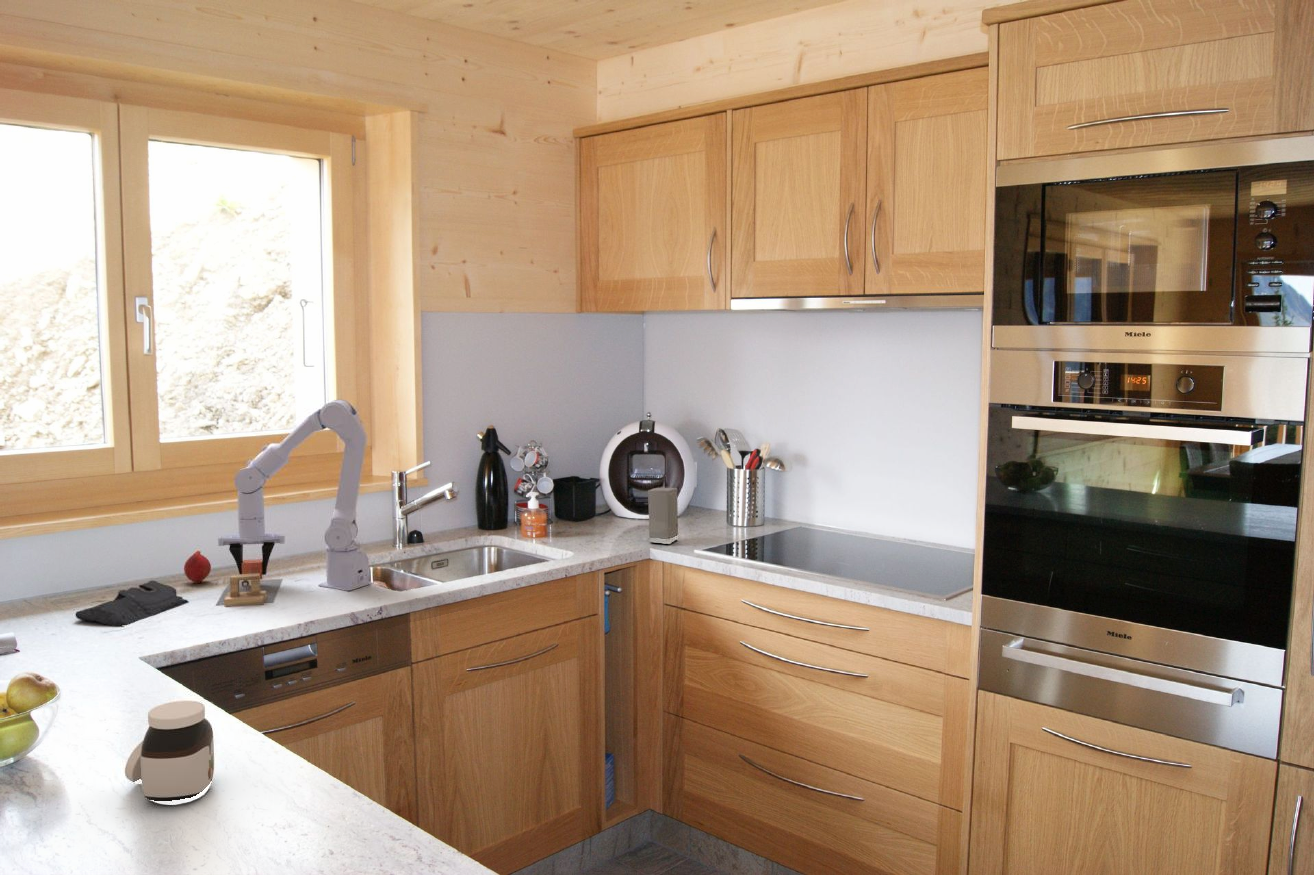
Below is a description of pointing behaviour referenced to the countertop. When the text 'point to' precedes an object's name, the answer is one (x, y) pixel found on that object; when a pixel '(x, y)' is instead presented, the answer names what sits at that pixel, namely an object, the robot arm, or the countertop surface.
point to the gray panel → (265, 585)
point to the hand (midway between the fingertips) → (253, 574)
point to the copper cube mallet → (252, 569)
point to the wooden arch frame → (245, 597)
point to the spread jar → (174, 752)
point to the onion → (197, 567)
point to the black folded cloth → (134, 605)
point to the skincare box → (663, 513)
